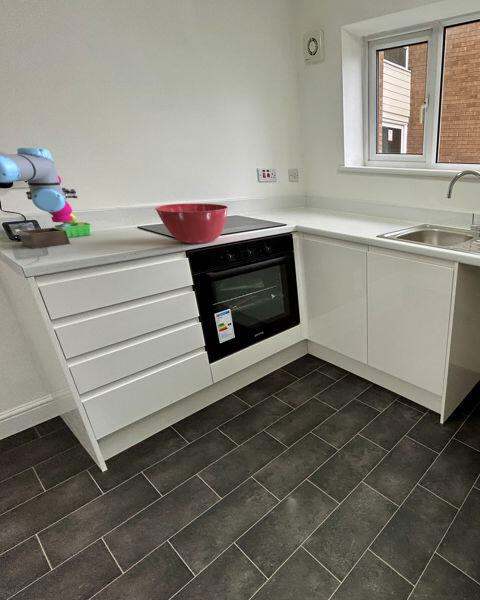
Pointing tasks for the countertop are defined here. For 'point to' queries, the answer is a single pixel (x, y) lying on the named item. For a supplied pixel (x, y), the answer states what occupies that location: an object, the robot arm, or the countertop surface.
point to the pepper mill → (62, 212)
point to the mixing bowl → (194, 221)
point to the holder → (43, 237)
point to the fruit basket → (75, 228)
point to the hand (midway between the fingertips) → (55, 191)
